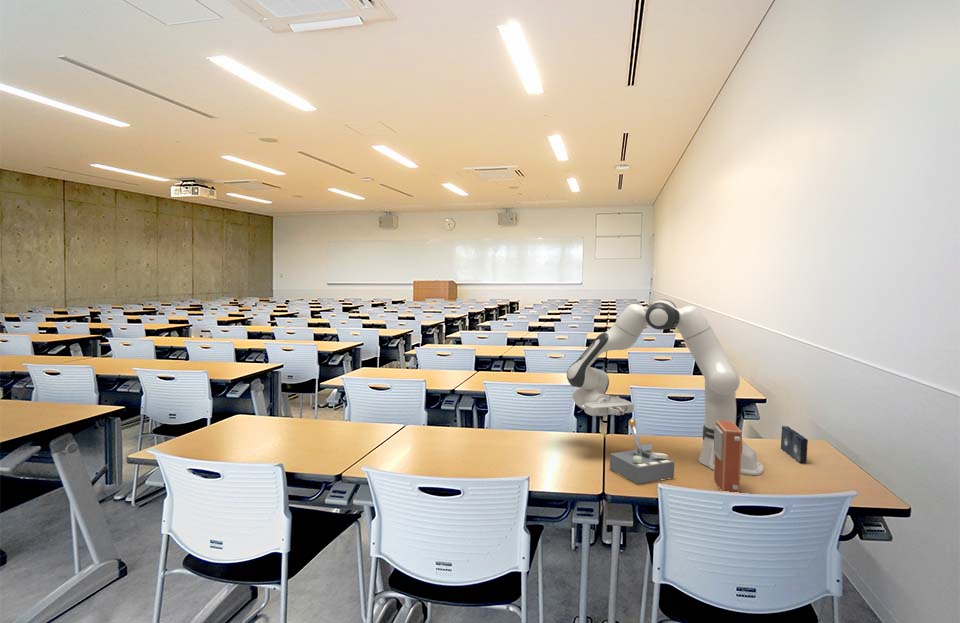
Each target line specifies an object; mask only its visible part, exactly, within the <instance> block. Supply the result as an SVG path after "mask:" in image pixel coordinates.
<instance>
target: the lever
mask: <svg viewBox="0 0 960 623" xmlns="http://www.w3.org/2000/svg"><path fill="white" fill-rule="evenodd" d="M636 424H637V421H636V420H635V419H629V420H628V425H629V426H630V430H631V433H632V437H633V441H634V443H635V447H636V450H637V451H638V454H642V453H643V451H642V447H641V445H642V444H641V441H640V436H639V433H638V430H637V426H636Z"/></svg>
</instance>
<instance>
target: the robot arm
mask: <svg viewBox="0 0 960 623" xmlns="http://www.w3.org/2000/svg"><path fill="white" fill-rule="evenodd" d="M648 326H650V328H652V329H655V330H657V331H659V330H660V331H661V330H669V329H674V328H675V329H677V331H678V332H679V333H680V335H681V337H682V340H683V341H684V343H685V344H686V346H687V348H688V350H689V352H690V354H691V356H692V357H693V359H694V362H695V363H696V365H697V367H698V368H699V370H700V372H701V374H702V376H703V378H704V424H703V426H702V447H701V451H700V455H699V458H698V462H699V463H700V464H702V465H703V466H705V467H708V468H709V469H710V470H713V471H714V467H715V453H714V451H713V450H714V428H715V427H714V426H715V425H716V421H730V422H733V423H734V424H735V425H736V426H737V399H736V398H737V396H736V392H737V390H738V388H739V386H740V383H741V382H740V376H739V374H738V372H737V370H736V369H735V367H734V365H733V363H732V361H731V360H730V358H729V357H728V355H727V353H726V352H725V350H724V348H723V346H722V344H721V343H720V340H719V339H718V337H717V335H716V333H715V332H714V330H713V328H712V326H711V325H710V323H709V322H708V320H707V318H706V317H705V316H704V314H703V313H702V312H701V311H700V308H698V307H696V306H695V305H685V306H683V307H680V308H678V307H677V305H675V303H674V302H672V301H671V300H668V299H658V300H656V301H653V302H652V303H651V304H648V305H647V306H646V307H645V306H642V305H641V304H637V303H632V304H629V305H627V307H626V308H624V310H623V311H622V312H621V313H620V315H619V316H618V318H617V319H616V321H615V322H614V323H613V325H612V326H611V327H610V328H609V329H608V330H606V331H605V332H603V333H600V334H598V335H597V336H596V337H595V338H594V340H593V341H592V342H591V343H590V344H589V346H588V347H587V348H586V349H585V351H583V353H582V354H581V355H580V356H579V357H578V359H577V360H576V361H574V362H573V363H572V364H571V365H570V366H569V367H568V369H567V372H566V379H567V381H568V383H569V385H570V386H572V387H575V389H574V390H573V393H572V400H573V402H574V403H575V405H576V406H578V407H579V408H580V409H581V410H584V413H585V414H587V415H589V416H591V417H592V416H593V417H595V416H597V417H604V416H607V415H616V416H623V415H625V414H628V413H629V414H631V413H633V412H634V404H633V402H631V401H629V400H627V399H625V398H621V397H620V396H618V395H613V394H612V395H611V394H606V393H607V392H608V388H609V385H610V379H609V378H610V377H609V375H608V373H607V372H606V371H604V370H601V369H598V368H595V367H591V366H592V365H593V363H594V362H596V360H597V359H598V358H599V356H600V355H602V354H603V353H606V352H610V351H623V350H624V351H625V350H628V349H630V348H631V347H632V346H634V345H635V344H636V342H637V340H638V339H639V338H640V336H641V334H642V332H644V330H645V329H646V328H647V327H648ZM755 451H756V450H754V449H753V448H752V447H751V446H749V444H748V443H746V442H745V441H743V440H742V454H741V471H740V475H742V474H744V475H749V476H750V475H751V476H759V475H761V474H763V472H764V465H763V464H762V463H761V462H760V461H758V457H757V453H756V452H755Z"/></svg>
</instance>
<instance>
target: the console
mask: <svg viewBox="0 0 960 623" xmlns="http://www.w3.org/2000/svg"><path fill="white" fill-rule="evenodd" d="M652 453H654V452H653V451H652V450H647V451H643V453H642V454H638V451H637V449H630V450H625V451H619V452H612V453H611V452H610V453H609V470H610V469H611V470H610V471H612V470H613V471H612V472H614V471H615V472H614V473H616V472H617V473H619V474H620V475H619V474H618V475H619V476H621V475H622V476H621V477H623V476H624V477H623V478H625V477H626V478H627V479H626V478H625V479H626V480H628V479H629V480H628V481H630V480H631V481H630V482H632V483H634V484H635V483H636V485H637V484H639V485H643V484H642V483H645V484H648V483H647V482H650V483H653V482H652V481H656V482H660V481H659V480H661V479H668V478H673V477H674V478H675V461H673V460H671V459H669V458H668V459H663V458H655V457H653V456H652ZM636 455H637V456H641V457H642V463H641V464H636V463H633V456H636ZM617 473H616V474H617ZM674 478H673V479H674ZM668 480H669V479H668Z"/></svg>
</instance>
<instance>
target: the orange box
mask: <svg viewBox="0 0 960 623" xmlns="http://www.w3.org/2000/svg"><path fill="white" fill-rule="evenodd" d="M714 427H715V428H714V450H713V451H714V453H715V467H714V470H713V471H714V472H713V480H714V481H715V482H714V483H716V485H717V486H719V487H720V488H719V487H718V488H719V490H720V489H721V490H722V491H729V492H740V491H741V473H740V471H741V454H742V441H743V431H742V430H741V429H740V428H739V427H738V426H737V424H736V425H735V424H734V423H733V422H730V421H716V425H715V426H714ZM721 490H720V491H721ZM722 491H721V492H722Z"/></svg>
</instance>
